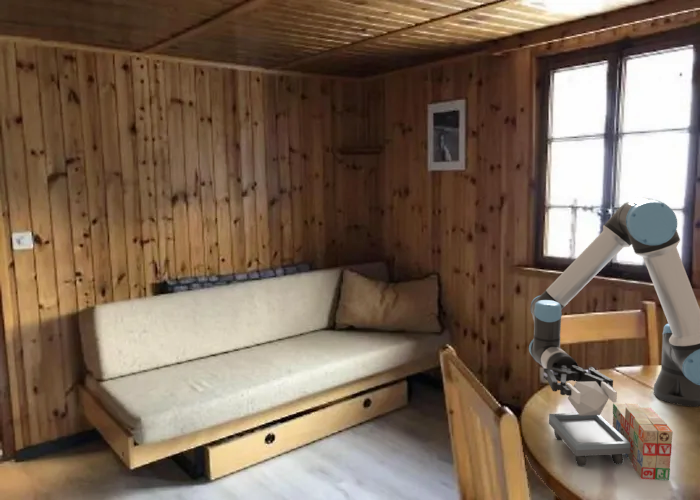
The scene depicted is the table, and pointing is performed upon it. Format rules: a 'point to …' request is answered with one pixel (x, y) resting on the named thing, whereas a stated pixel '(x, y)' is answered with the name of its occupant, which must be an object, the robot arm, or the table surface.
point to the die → (589, 398)
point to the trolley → (589, 436)
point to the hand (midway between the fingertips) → (596, 397)
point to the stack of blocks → (645, 439)
